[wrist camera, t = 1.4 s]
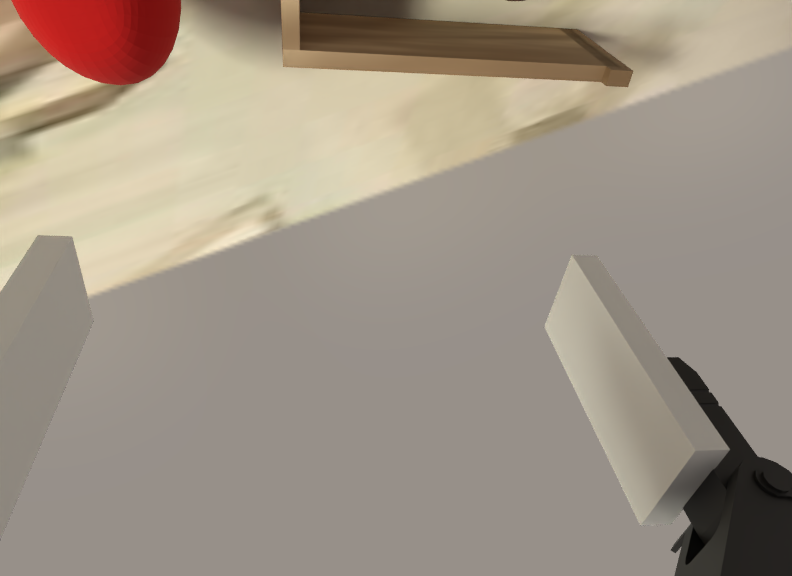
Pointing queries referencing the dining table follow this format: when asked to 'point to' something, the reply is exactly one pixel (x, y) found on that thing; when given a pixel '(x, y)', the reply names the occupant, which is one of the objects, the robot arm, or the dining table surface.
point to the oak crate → (443, 48)
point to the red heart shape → (105, 35)
